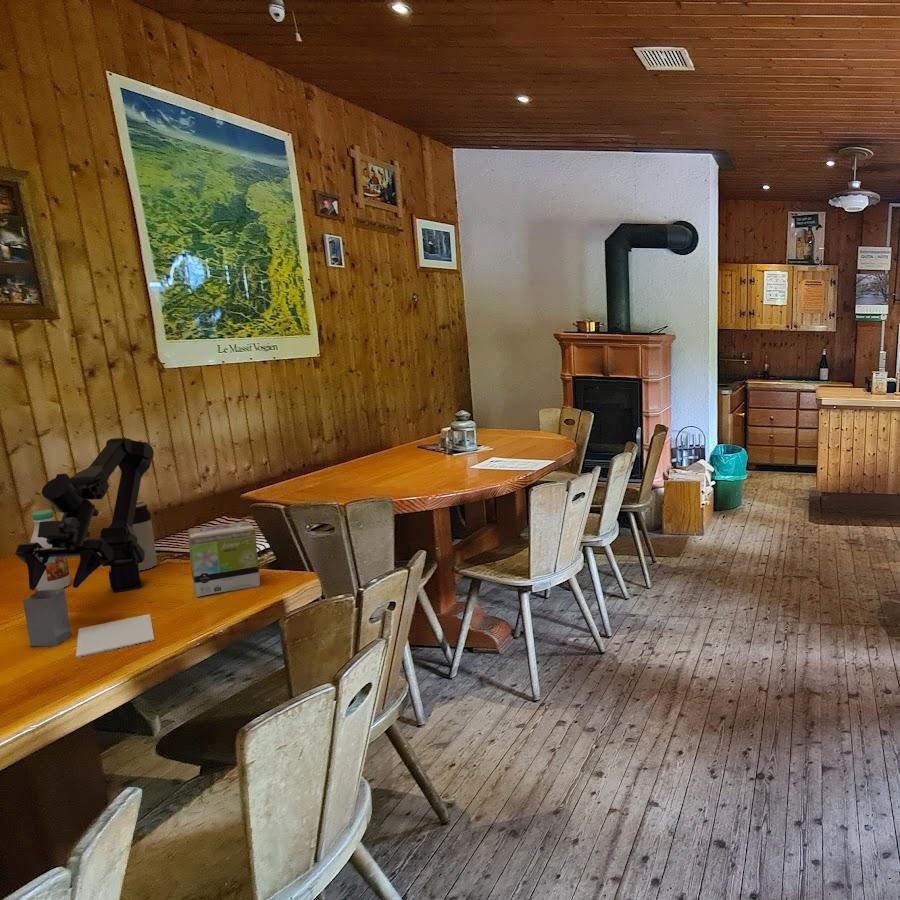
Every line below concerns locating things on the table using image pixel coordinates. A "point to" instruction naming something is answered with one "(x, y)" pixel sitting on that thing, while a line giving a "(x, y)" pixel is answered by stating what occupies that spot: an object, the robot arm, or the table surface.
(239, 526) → the tea box
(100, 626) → the mat
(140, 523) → the travel mug
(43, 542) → the milk bottle
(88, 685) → the table surface
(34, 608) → the tin
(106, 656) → the table surface
